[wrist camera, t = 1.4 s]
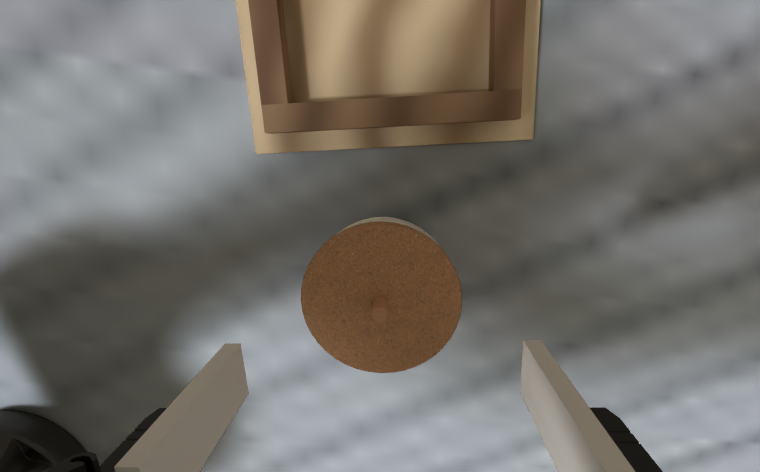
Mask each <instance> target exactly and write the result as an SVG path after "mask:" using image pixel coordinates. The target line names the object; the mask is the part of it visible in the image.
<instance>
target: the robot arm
mask: <svg viewBox="0 0 760 472" xmlns="http://www.w3.org/2000/svg"><path fill="white" fill-rule="evenodd" d="M520 393H521V395H522V397H523V400H524V402H525V404H526V406H527V408H528V410H529V412H530V414H531V416H532V418H533V420H534V422H535V425H536V427H537V429H538V431H539V433H540V435H541V437H542V439H543V441H544V443H545V445H546V447H547V449H548V452H549V454H550V456H551V458H552V460H553V462H554V464H555V466H556V468H557V470H558V472H662V470H661V469H660V468H659V467H658V465H657V464H656V463H655V462H654V460H653V459H652V458H651V457H650V455H649V454H648V453H647V452H646V450H645V449H644V448H643V447H642V445H641V444H639V442H638V440H637V439H636V438H635V437H634V435H633V434H631V433H630V430H629V429H628V428H627V427H626V425H625V424H624V423H623V422H622V420H621V419H620V418H619V417H617V416H616V415H614V414H613V413H612V412H610V411H609V410H608V409H606V408H589V406H588V405H587V404H586V402H585V401H584V399H583V398H582V397H581V395H580V394H579V392H578V391H577V390H576V388H575V387H574V386H573V384H572V383H571V381H570V380H569V379H568V377H567V376H566V374H565V373H564V372H563V370H562V369H561V367H560V366H559V365H558V363H557V362H556V360H555V359H554V358H553V356H552V355H551V354H550V352H549V351H548V349H547V348H546V347H545V345H544V344H543V342H542V341H541V340H523V352H522V370H521V388H520ZM248 394H249V392H248V386H247V380H246V374H245V368H244V362H243V356H242V350H241V344H224V345H223V346H222V348H221V349H220V350H219V351H218V352H217V353H216V354H215V355H214V356H213V358H212V359H211V360H210V361H209V362H208V363H207V364H206V365H205V366H204V368H203V369H202V370H201V371H200V372H199V373H198V374H197V375H196V376H195V378H194V379H193V380H192V381H191V382H190V383H189V384H188V385H187V386H186V388H185V389H184V390H183V391H182V392H181V393H180V394H179V395H178V396H177V398H176V399H175V400H174V401H173V402H172V403H171V404H170V405H169V406H168V408H159V409H158V410H156V411H155V412H154V413H152V414H151V415H149V416H148V417H146V418H145V419H144V420H143V421H142V422H141V423H140V424H139V426H138V427H137V428H136V429H135V431H133V432H132V433H131V434H130V435H129V436H128V437H127V438H126V441H123V442H122V444H121V445H120V446H119V447H118V448H117V449H116V450H115V451H114V452H113V453H112V454H111V455H110V456H109V457H108V458H107V459H106V460H105V461H104V463H103V464H102V465H101V466H99V463H98V460H97V457H96V454H94V453H91V452H86V453H85V452H84V451H83V449H82V448H81V447H80V445H79V444H78V443H77V442H76V441H75V440H74V439H73V438H72V437H71V436H70V435H68V434H67V433H66V432H65V431H63V430H62V429H61V428H59V427H58V426H56V425H54V424H53V423H51V422H49V421H47V420H45V419H42V418H40V417H37V416H34V415H31V414H28V413H23V412H17V411H0V472H200V471H201V469H202V467H203V466H204V464H205V463H206V461H207V459H208V458H209V456H210V455H211V453H212V451H213V450H214V448H215V447H216V445H217V443H218V442H219V440H220V439H221V437H222V435H223V434H224V432H225V430H226V429H227V427H228V426H229V424H230V422H231V421H232V419H233V418H234V416H235V414H236V413H237V411H238V410H239V408H240V406H241V405H242V403H243V402H244V400H245V398H246V397H247V395H248Z"/></svg>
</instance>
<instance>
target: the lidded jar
mask: <svg viewBox="0 0 760 472" xmlns="http://www.w3.org/2000/svg"><path fill="white" fill-rule="evenodd" d="M301 304H302V311H303V315H304V318H305V321H306V324H307V326H308V328H309V330H310V332H311V334H312V335H313V336H314V338H315V339H316V341H317V342H318V343H319V344H320V345H321V346H322V348H323V349H324V350H325V351H326V352H328V353H329V354H330V355H332V356H333V357H334V358H335V359H337V360H339V361H341V362H342V363H344V364H346V365H349V366H351V367H353V368H356V369H359V370H364V371H368V372H376V373H390V372H398V371H404V370H407V369H410V368H413V367H416V366H418V365H420V364H422V363H424V362H426V361H427V360H429V359H430V358H432V357H433V356H434V355H436V354H437V353H438V352H439V351H440V350H441V349H442V348H443V347H444V346H445V345H446V343H447V342H448V341H449V339H450V338H451V337H452V335H453V333H454V331H455V329H456V327H457V324H458V321H459V318H460V314H461V308H462V291H461V286H460V281H459V278H458V275H457V273H456V270H455V268H454V266H453V264H452V262H451V261H450V259H449V257H448V256H447V254H446V253H445V252H444V251H443V249H442V248H441V247H440V245H439V244H438V243H437V242H436V241H435V239H434V238H432V237H431V236H430V235H429V234H428V233H427V232H426V231H424V230H423V229H421V228H420V227H418V226H416V225H415V224H412V223H410V222H408V221H405V220H402V219H398V218H392V217H372V218H367V219H363V220H360V221H357V222H355V223H352V224H350V225H349V226H347V227H345V228H344V229H342V230H340V231H339V232H338V233H337V234H335V235H334V236H333V237H332V238H331V239H329V240H328V241H327V242H326V243H325V244H324V245H323V246H322V247H321V248H320V249H319V251H318V252H317V253H316V254H315V255H314V257H313V259H312V260H311V262H310V264H309V265H308V267H307V270H306V273H305V275H304V278H303V283H302V288H301Z"/></svg>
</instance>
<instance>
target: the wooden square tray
mask: <svg viewBox="0 0 760 472" xmlns="http://www.w3.org/2000/svg"><path fill="white" fill-rule="evenodd" d="M235 1H236V8H237V16H238V23H239V31H240V38H241V46H242V53H243V61H244V68H245V76H246V83H247V91H248V98H249V106H250V113H251V121H252V128H253V136H254V143H255V151H256V154H266V153H285V152H304V151H323V150H342V149H361V148H380V147H399V146H418V145H437V144H456V143H475V142H494V141H512V140H531V139H533V132H534V113H535V95H536V76H537V57H538V38H539V19H540V1H541V0H235Z"/></svg>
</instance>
